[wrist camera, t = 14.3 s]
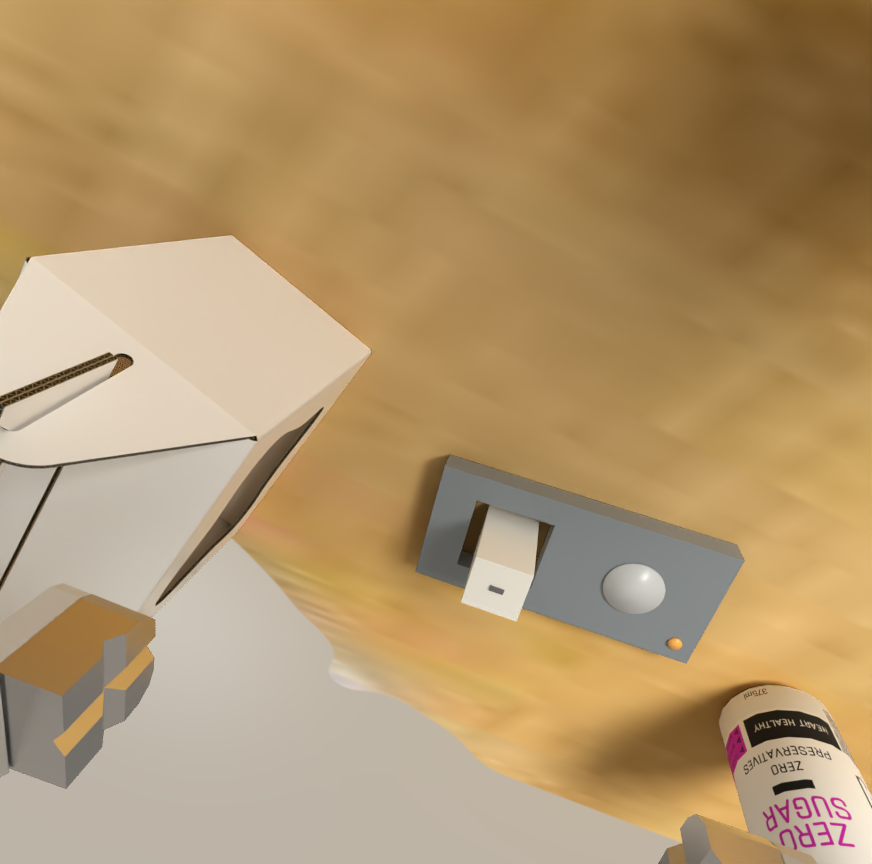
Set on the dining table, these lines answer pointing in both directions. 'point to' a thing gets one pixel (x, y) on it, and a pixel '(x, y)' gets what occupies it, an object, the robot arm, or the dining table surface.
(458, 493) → the power board
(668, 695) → the dining table surface
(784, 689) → the supplement can
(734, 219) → the dining table surface
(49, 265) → the gable box
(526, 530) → the block
